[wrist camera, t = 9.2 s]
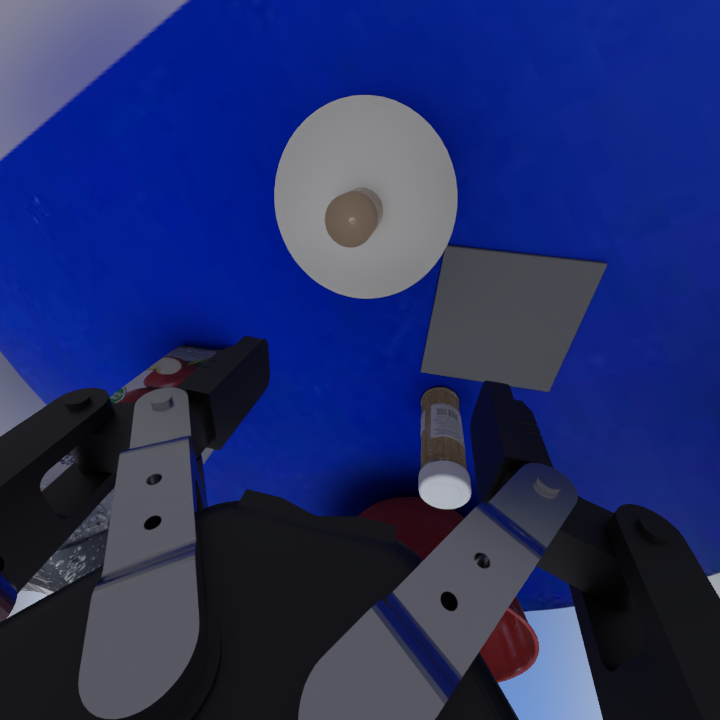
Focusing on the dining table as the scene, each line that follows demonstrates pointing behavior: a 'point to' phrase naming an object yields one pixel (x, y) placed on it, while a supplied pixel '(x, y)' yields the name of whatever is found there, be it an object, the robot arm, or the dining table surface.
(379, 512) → the mixing bowl
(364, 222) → the lid
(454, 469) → the sprinkles bottle
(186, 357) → the juice carton
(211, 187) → the dining table surface
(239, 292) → the dining table surface
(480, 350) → the mat
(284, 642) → the robot arm
